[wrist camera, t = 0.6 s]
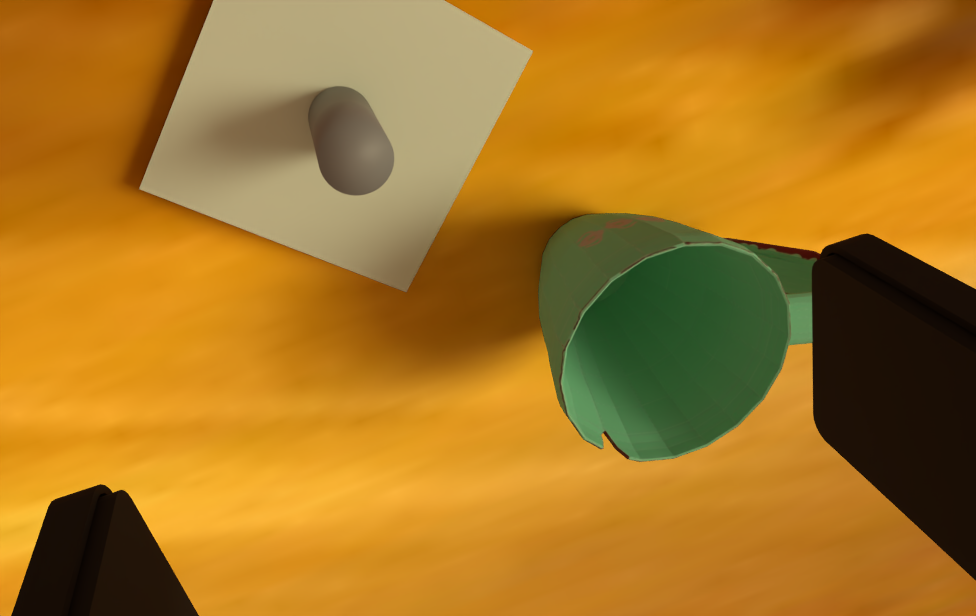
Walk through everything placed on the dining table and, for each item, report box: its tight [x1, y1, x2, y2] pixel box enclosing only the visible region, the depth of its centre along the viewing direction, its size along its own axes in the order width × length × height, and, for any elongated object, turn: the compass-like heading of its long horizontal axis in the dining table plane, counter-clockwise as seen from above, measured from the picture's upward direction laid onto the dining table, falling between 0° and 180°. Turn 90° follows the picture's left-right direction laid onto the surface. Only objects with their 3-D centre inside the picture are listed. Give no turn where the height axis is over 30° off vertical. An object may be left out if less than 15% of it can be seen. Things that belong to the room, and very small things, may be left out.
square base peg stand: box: [139, 0, 533, 292], centre depth 31 cm, size 12×12×7 cm
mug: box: [538, 213, 821, 462], centre depth 36 cm, size 15×10×10 cm
